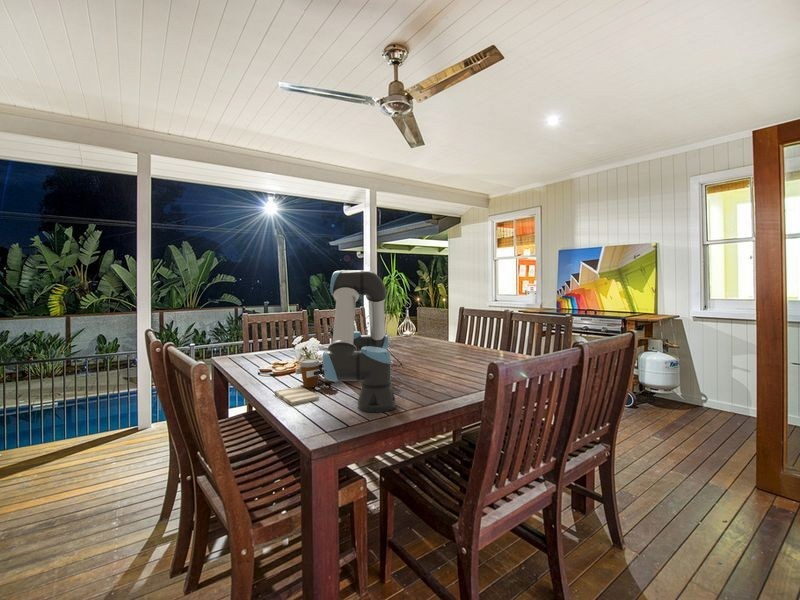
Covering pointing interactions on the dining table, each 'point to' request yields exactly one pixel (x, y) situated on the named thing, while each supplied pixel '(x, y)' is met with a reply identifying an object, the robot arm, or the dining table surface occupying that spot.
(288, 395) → the serving board
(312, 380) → the disposable coffee cup
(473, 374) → the dining table surface
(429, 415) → the dining table surface
